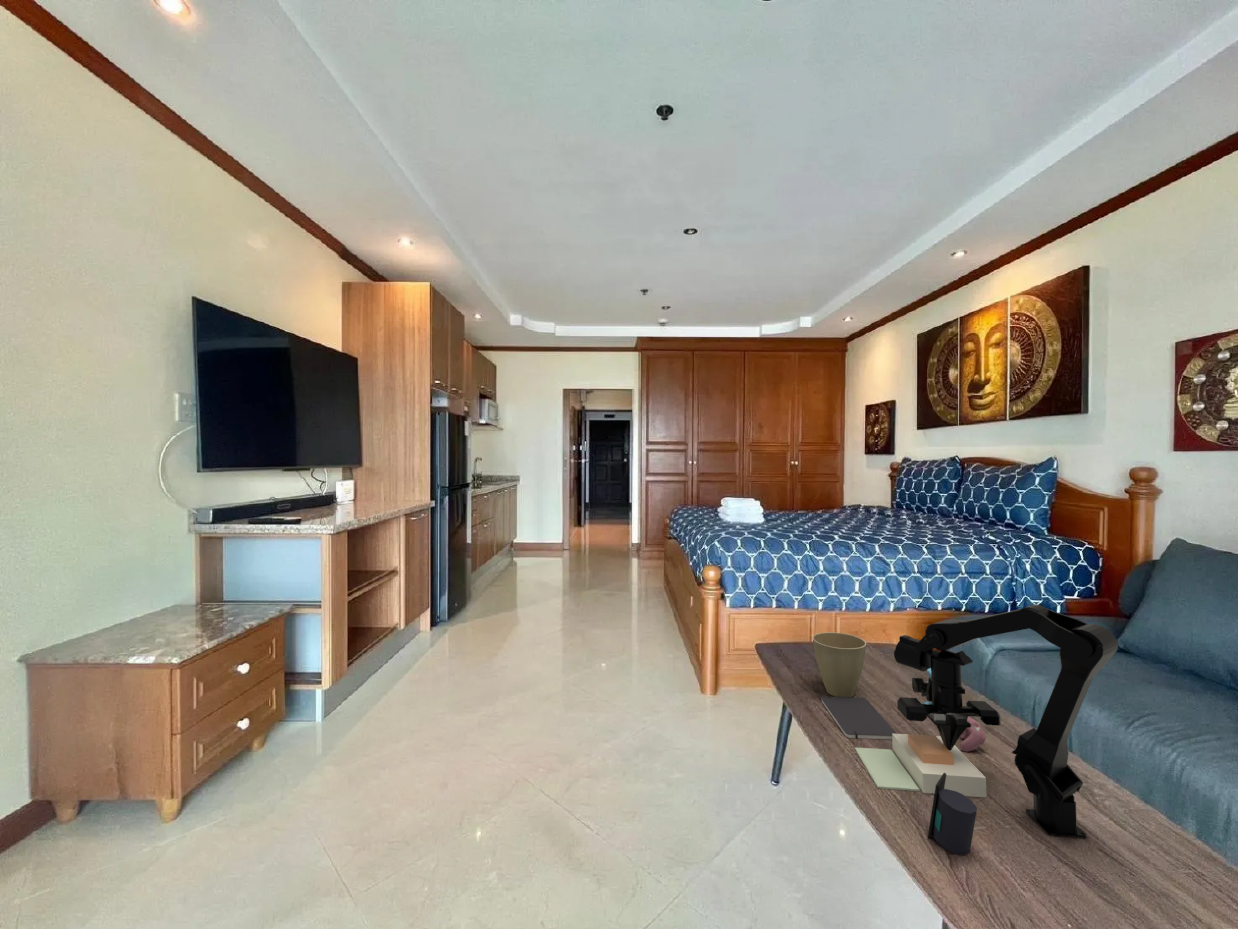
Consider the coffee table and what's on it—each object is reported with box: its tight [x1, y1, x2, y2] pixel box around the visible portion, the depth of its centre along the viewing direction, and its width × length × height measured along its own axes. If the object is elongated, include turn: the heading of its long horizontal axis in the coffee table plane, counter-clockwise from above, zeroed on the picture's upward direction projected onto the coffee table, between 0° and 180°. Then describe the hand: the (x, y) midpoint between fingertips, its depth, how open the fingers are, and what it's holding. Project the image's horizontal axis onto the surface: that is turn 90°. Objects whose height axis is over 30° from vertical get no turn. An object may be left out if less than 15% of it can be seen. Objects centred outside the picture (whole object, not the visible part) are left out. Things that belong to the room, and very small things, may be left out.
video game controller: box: [959, 716, 987, 752], centre depth 122 cm, size 10×5×7 cm, turn 170°
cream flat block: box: [891, 733, 988, 798], centre depth 110 cm, size 16×12×4 cm
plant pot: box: [812, 631, 867, 697], centre depth 150 cm, size 15×15×16 cm
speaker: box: [927, 773, 978, 856], centre depth 90 cm, size 8×6×10 cm
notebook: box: [820, 696, 898, 740], centre depth 135 cm, size 13×2×21 cm
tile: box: [908, 733, 954, 765], centre depth 111 cm, size 8×6×2 cm
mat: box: [854, 747, 921, 792], centre depth 112 cm, size 15×8×1 cm, turn 172°
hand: (948, 749), depth 110 cm, fingers closed
